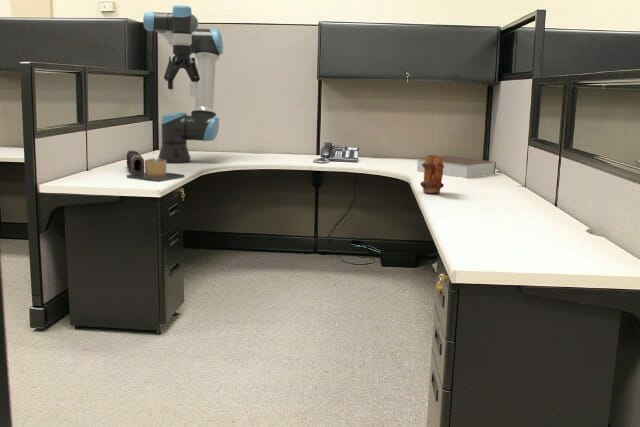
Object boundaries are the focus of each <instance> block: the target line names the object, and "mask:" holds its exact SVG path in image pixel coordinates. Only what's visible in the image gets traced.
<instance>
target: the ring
mask: <svg viewBox="0 0 640 427" xmlns="http://www.w3.org/2000/svg"><path fill="white" fill-rule="evenodd" d="M151 160H152V158H148V159H144V173H145V175H146V176H155V177H157V176H166V175H167V174H166V173H167V163H166V160H164V159H160V160H161V161H151Z"/></svg>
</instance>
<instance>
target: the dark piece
mask: <svg viewBox="0 0 640 427" xmlns="http://www.w3.org/2000/svg"><path fill="white" fill-rule="evenodd" d="M151 159H152V160H151V161H161V160H160V159H159V158H158V157H157V158H156V157H155V158H154V157H152V158H151ZM166 174H167V175H166V176H157V177H155V176H146V175H145V172H144V173H139V174H133V173H132V174H127V175H126V178H127V179H135V180H142V181H148V182H149V181H150V182H157V183H159V182H165V181H171V180H175V179H181V178H185V177H186V176H185V175H186V174H183V173H173V172H166Z"/></svg>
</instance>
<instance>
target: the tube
mask: <svg viewBox="0 0 640 427" xmlns="http://www.w3.org/2000/svg"><path fill="white" fill-rule="evenodd" d="M126 167H127V168H128V170H129V171H130V172H131V173H132V174H139V173H145V159H144V158H143V157H142V155H141V154H140V153H139V152H138V151H136V150H128V151H127V152H126Z"/></svg>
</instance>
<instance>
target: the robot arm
mask: <svg viewBox="0 0 640 427" xmlns="http://www.w3.org/2000/svg"><path fill="white" fill-rule="evenodd" d="M142 23H143V27H144V29H145V30H146V31H151V32H154V31H155V32H156V33H157V34H159V35H160V36H161V37H163V38H164V39H165V40H167V43H168V44H169V45H170V46H171V47H172V54H173V55H174V56H173V55H170V56H169V57H168V64H167V67H166V70H165V73H164V76H163V79H164V80H165V81H166V82H167V89H168V98H174V99H175V98H176V81H174V80H175V79H176V76H177V74H178V73H179V70H180V69H184V70H185V72H186V73H187V75H188V78H189V79H190V81H189V98H195V101H194V109H192V110H191V112H190V115H188V113H187V112H185V111H183V112H173V113H165V114H163V115H162V116H161V147H160V150H159V154H158V157H157V158H159V159H164V160H166V164H167V163H168V164H183V163H184V164H185V163H191V155H190V153H189V152H190V151H189V149H188V145H187V141H203V142H206V141H207V142H209V141H214V140H215V139H216V138H217V137H218V133H219V128H220V117H218V116H217V113H216V112H215V111H214V98H215V97H214V94H215V81H216V80H215V78H216V64H217V61H218V60H219V59H220V55H223V54H224V43H223V37H222V33H221V32H220V30H218V29H213V28H198V27H199V20H198V18H197V17H196V16H195V15H194V14H193V13H192V8H191V6H189V5H180V4H178V5H177V4H176V5H173V7H172V12H159V11H158V12H156V11H151V12H150V11H148V12H147V11H146V12H144V15H143V21H142ZM192 54H194V57H191V55H192ZM196 60H197V64H196Z"/></svg>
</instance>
